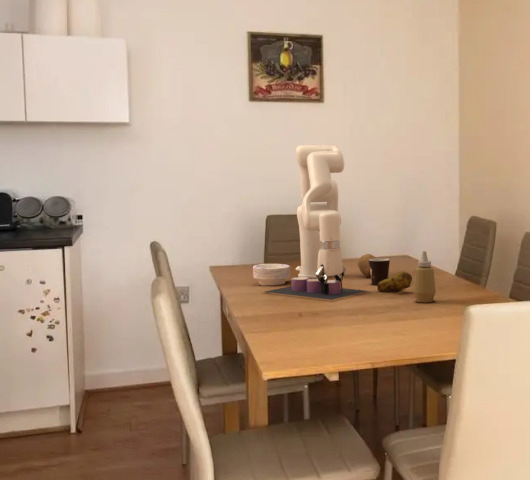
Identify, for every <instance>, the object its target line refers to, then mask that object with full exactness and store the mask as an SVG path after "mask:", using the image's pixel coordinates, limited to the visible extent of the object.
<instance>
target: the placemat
mask: <svg viewBox="0 0 530 480" xmlns="http://www.w3.org/2000/svg"><path fill="white" fill-rule="evenodd" d="M366 292H368V290H363V289H355V288H346V287H345V288H344V287H342V291H341V293H340V294H334V295H326V294H322V293H309V292H307V291H293V290H292V285H290V286H286V287H281V288H276V289H271V290H266V291H264V293H272V294H278V295H279V294H280V295H288V296H297V297H303V298H305V297H306V298H314V299H322V300H330V301H333V300H338V299H342V298H345V297H349V296H350V297H351V296H354V295H358V294H363V293H366Z"/></svg>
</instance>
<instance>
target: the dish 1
mask: <svg viewBox="0 0 530 480" xmlns="http://www.w3.org/2000/svg"><path fill="white" fill-rule="evenodd" d="M308 279H311V278H308V277H298V276H296V277H292V278H291V279H290V280H291V282H290V283H291V286H292V290H293V291H307V285H306V280H308Z"/></svg>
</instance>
